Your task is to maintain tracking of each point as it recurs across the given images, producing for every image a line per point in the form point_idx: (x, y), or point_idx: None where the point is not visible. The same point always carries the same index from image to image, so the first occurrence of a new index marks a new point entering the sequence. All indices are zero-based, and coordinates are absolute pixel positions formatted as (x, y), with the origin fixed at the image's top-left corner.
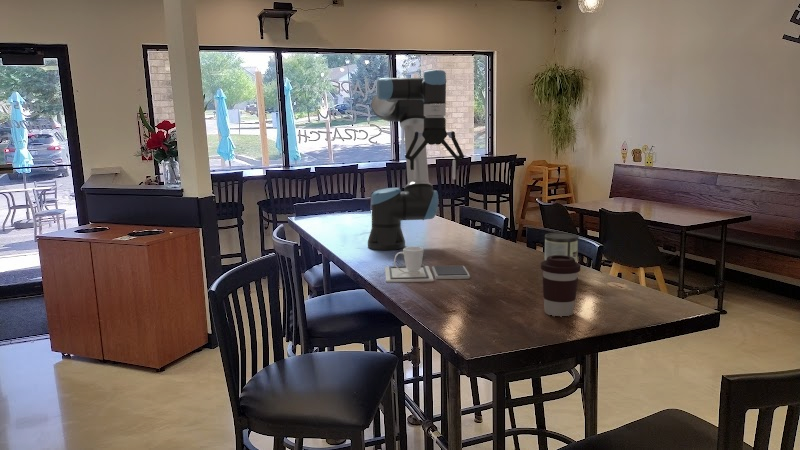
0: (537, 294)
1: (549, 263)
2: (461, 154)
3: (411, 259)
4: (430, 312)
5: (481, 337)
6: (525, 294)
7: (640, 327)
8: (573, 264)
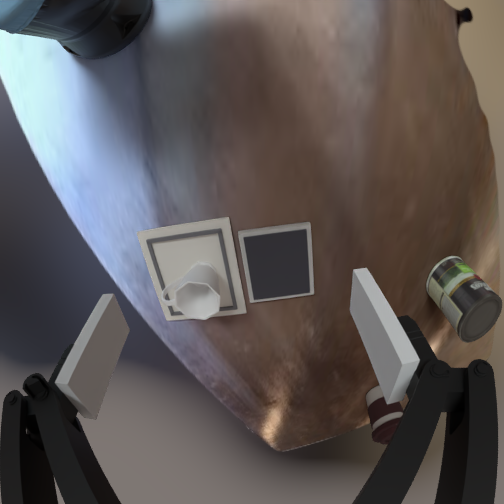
0: None
1: (378, 440)
2: (458, 421)
3: (198, 304)
4: (249, 406)
5: (292, 435)
6: None
7: None
8: None
